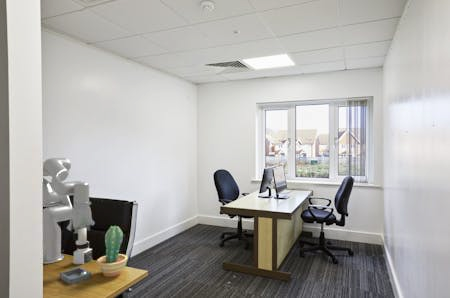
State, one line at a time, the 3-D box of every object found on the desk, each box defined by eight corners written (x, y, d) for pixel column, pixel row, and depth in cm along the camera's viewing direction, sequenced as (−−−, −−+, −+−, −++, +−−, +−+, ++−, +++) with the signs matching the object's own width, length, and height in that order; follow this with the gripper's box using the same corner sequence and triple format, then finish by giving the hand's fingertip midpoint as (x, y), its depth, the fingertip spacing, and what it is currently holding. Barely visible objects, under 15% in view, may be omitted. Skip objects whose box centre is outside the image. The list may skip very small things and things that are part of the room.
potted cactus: (133, 270, 158) (134, 224, 158) (114, 282, 143) (114, 231, 144) (110, 266, 163) (111, 222, 163) (89, 277, 149) (90, 228, 149)
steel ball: (79, 278, 147) (79, 271, 147) (85, 276, 149) (85, 269, 149) (82, 280, 145) (82, 273, 145) (88, 277, 147) (88, 271, 147)
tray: (59, 279, 147) (59, 273, 147) (79, 272, 155) (79, 267, 155) (70, 286, 139) (70, 279, 139) (91, 278, 147) (91, 273, 147)
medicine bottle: (84, 265, 165) (84, 244, 165) (73, 264, 166) (73, 243, 166) (92, 260, 172) (92, 240, 172) (81, 259, 173) (82, 239, 173)
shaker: (73, 243, 156) (74, 225, 156) (83, 241, 160) (83, 223, 160) (78, 245, 153) (79, 226, 153) (88, 243, 157) (88, 224, 157)
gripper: (92, 202, 166) (92, 234, 166) (61, 207, 152) (61, 241, 152) (100, 203, 161) (99, 236, 161) (68, 208, 148) (68, 244, 147)
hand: (81, 238), depth 157 cm, fingers closed on shaker, 5 cm apart
